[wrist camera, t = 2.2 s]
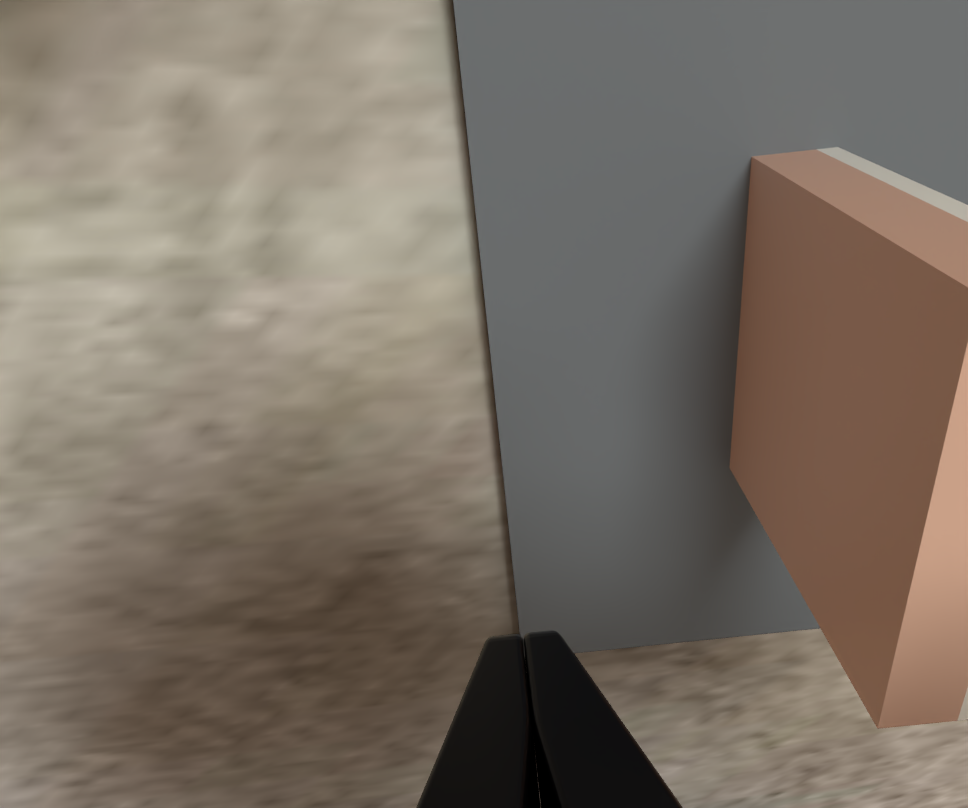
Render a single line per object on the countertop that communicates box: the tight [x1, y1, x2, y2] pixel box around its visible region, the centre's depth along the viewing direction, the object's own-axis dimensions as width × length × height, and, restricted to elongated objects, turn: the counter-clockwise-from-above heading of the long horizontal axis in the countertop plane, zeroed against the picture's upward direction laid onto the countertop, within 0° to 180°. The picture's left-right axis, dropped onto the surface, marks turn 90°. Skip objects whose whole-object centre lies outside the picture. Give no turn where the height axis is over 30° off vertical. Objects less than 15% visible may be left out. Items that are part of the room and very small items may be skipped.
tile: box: [730, 147, 968, 729], centre depth 13 cm, size 7×2×7 cm, turn 6°
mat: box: [453, 0, 968, 655], centre depth 16 cm, size 18×18×1 cm
